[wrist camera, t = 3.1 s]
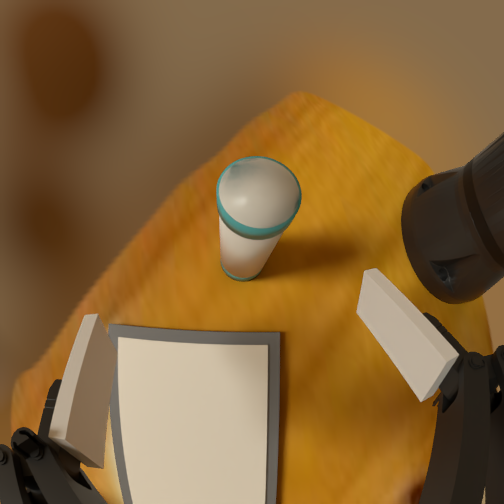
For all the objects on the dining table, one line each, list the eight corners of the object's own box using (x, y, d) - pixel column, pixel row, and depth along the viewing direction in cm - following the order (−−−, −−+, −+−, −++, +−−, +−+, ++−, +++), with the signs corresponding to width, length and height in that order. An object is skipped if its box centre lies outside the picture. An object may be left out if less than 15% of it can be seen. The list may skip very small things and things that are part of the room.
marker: (264, 240, 24) (298, 159, 13) (264, 283, 23) (304, 232, 12) (220, 238, 24) (219, 154, 13) (218, 282, 23) (214, 228, 11)
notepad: (278, 332, 22) (280, 332, 21) (273, 521, 16) (274, 526, 15) (112, 324, 21) (107, 323, 20) (129, 511, 15) (126, 516, 14)
